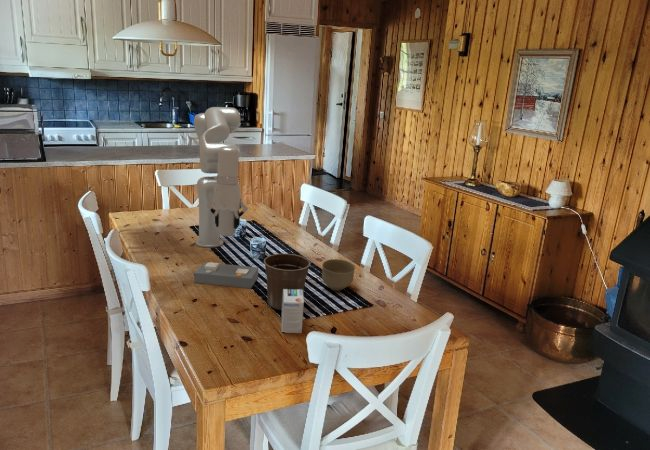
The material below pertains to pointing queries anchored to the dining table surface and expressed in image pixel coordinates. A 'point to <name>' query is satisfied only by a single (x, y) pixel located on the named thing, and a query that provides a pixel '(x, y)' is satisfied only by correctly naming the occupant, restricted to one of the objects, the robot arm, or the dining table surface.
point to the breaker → (212, 266)
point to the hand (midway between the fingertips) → (227, 226)
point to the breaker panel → (226, 276)
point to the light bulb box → (292, 311)
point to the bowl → (337, 273)
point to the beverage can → (226, 222)
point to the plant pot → (284, 276)
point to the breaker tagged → (242, 271)
